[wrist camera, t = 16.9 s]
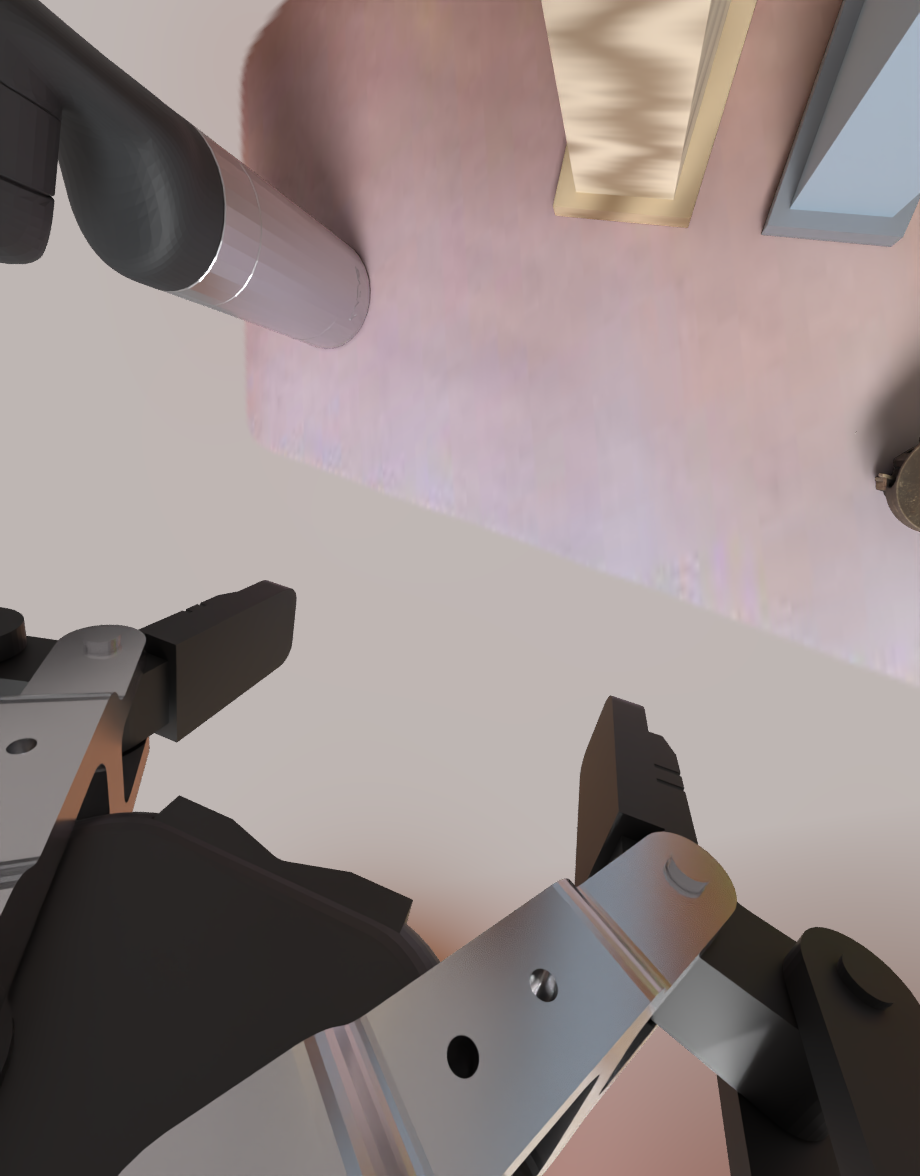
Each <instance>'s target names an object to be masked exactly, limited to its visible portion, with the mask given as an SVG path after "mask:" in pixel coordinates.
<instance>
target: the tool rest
mask: <svg viewBox="0 0 920 1176" xmlns="http://www.w3.org/2000/svg"><path fill="white" fill-rule="evenodd" d="M541 2H542V8H543V13H544V19H545V24H546V30H547V35H548V41H549V46H550V52H551V57H552V63H553V68H554V74H555V79H556V85H557V90H558V96H559V101H560V107H561V112H562V118H563V123H564V129H565V134H566V140H567V145H566V150H565V154H564V159H563V163H562V168H561V172H560V177H559V181H558V186H557V190H556V195H555V199H554V204H553V208H554V212H555V215H556V216H565V217H576V218H587V219H597V220H608V221H619V222H630V223H640V224H651V225H662V226H673V227H683V228H688V226H689V222H690V219H691V216H692V213H693V209H694V206H695V203H696V199H697V196H698V193H699V190H700V186H701V183H702V180H703V176H704V173H705V170H706V167H707V163H708V160H709V157H710V153H711V150H712V147H713V144H714V140H715V137H716V134H717V130H718V127H719V124H720V121H721V117H722V114H723V111H724V107H725V104H726V101H727V98H728V94H729V91H730V88H731V84H732V81H733V78H734V75H735V71H736V68H737V65H738V61H739V58H740V55H741V52H742V48H743V45H744V42H745V39H746V35H747V32H748V29H749V25H750V22H751V19H752V16H753V12H754V9H755V6H756V2H757V0H541Z"/></svg>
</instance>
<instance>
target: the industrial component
mask: <svg viewBox="0 0 920 1176" xmlns="http://www.w3.org/2000/svg"><path fill="white" fill-rule="evenodd" d="M855 433H856V432H855ZM893 463H894V467H895V468H894V469H893V473H892V475H891V476H890V475H887V474H883V473H879V477H875V481H876V489H877V490H880V491H883V492H884V495H885V496H886V499H887V503H888V505H889V508H890V510H891V511H892V513H893V514H894V515H895V517H896V518H897V519H898V520H899V521H901V522H902V523H903V524H904V525H906V526H908V527H909V528H911V529H913V530H916V531H919V532H920V437H919V444H918V446H917V447H914V448H911V449H909V450H907V451H906V452H904V453H903V454H901V455H900V456H898V457H897V458H895V459H894V461H893ZM880 477H881V478H880Z"/></svg>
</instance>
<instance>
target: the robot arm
mask: <svg viewBox="0 0 920 1176" xmlns="http://www.w3.org/2000/svg"><path fill="white" fill-rule="evenodd" d="M58 161H59V164H60V168H61V172H62V176H63V179H64V183H65V187H66V190H67V195H68V198H69V202H70V205H71V208H72V211H73V213H74V216H75V218H76V221H77V223H78V225H79V227H80V229H81V231H82V233H83V235H84V237H85V238H86V240H87V242H88V243H89V244H90V246H91V247H92V249H93V250H94V251H95V253H96V254H97V255H98V256H99V257H100V258H101V259H102V260H103V261H104V262H105V263H106V264H107V265H108V266H110V267H111V268H112V269H114V270H115V271H117V272H118V273H120V274H121V275H123V276H125V277H127V278H130V279H131V280H134V281H136V282H139V283H142V284H144V285H147V286H150V287H153V288H155V289H158V290H162V291H164V292H167V293H170V294H173V295H175V296H178V297H181V298H184V299H186V300H189V301H192V302H195V303H198V304H201V305H203V306H207V307H209V308H212V309H214V310H217V311H220V312H223V313H225V314H228V315H231V316H234V317H236V318H239V319H242V320H245V321H247V322H250V323H253V324H256V325H258V326H261V327H264V328H267V329H269V330H272V331H275V332H277V333H280V334H283V335H286V336H288V337H291V338H293V339H296V340H299V341H302V342H304V343H307V344H310V345H313V346H315V347H319V348H324V349H330V348H336V347H339V346H342V345H344V344H345V343H347V342H348V341H350V340H351V339H352V338H353V337H354V336H355V335H356V334H357V333H358V331H359V329H360V328H361V326H362V325H363V322H364V320H365V317H366V315H367V311H368V306H369V300H370V287H369V279H368V275H367V272H366V269H365V266H364V264H363V263H362V261H361V259H360V257H359V256H358V255H357V253H356V252H355V251H354V250H353V249H352V248H351V247H350V246H348V245H347V244H346V243H345V242H343V241H342V240H341V239H339V238H338V237H337V236H336V235H334V234H333V233H332V232H331V231H329V230H328V229H327V228H326V227H325V226H323V225H322V224H321V223H319V222H318V221H317V220H315V219H314V218H313V217H312V216H310V215H309V214H308V213H306V212H305V211H304V210H303V209H301V208H300V207H299V206H297V205H296V204H295V203H293V202H292V201H291V200H290V199H288V198H287V197H286V196H284V195H283V194H282V193H281V192H279V191H278V190H277V189H275V188H274V187H273V186H272V185H270V184H269V183H268V182H266V181H265V180H264V179H262V178H261V177H260V176H259V175H257V174H256V173H255V172H253V171H252V170H251V169H250V168H248V167H247V166H246V165H244V164H243V163H242V162H240V161H239V160H238V159H237V158H235V157H234V156H233V155H231V154H230V153H228V152H227V151H226V150H224V149H223V148H222V147H221V146H219V145H218V144H216V143H215V142H214V141H213V140H212V139H210V138H209V137H208V136H206V135H205V134H204V133H203V132H201V131H200V130H198V129H197V128H196V127H195V126H193V125H192V124H191V123H189V122H188V121H187V120H185V119H184V118H183V117H181V116H180V115H179V114H177V113H176V112H175V111H173V110H172V109H171V108H169V107H168V106H167V105H166V104H164V103H163V102H162V101H161V100H160V99H158V98H157V97H156V96H155V95H153V94H152V93H151V92H150V91H148V90H147V89H146V88H145V87H143V86H142V85H141V84H140V83H138V82H137V81H136V80H134V79H133V78H132V77H131V76H129V75H128V74H127V73H125V72H124V71H123V70H122V69H120V68H119V67H118V66H117V65H115V64H114V63H113V62H112V61H110V60H109V59H108V58H106V57H105V56H104V55H103V54H102V53H100V52H99V51H98V50H97V49H96V48H94V47H93V46H92V45H91V44H90V43H88V42H87V41H86V40H85V39H84V38H82V37H81V36H80V35H79V34H78V33H76V32H75V31H74V30H73V29H72V28H70V27H69V26H68V25H67V24H66V23H64V22H63V21H62V20H61V19H60V18H59V17H57V16H56V15H55V14H54V13H52V12H51V11H50V10H49V9H48V8H47V7H46V6H45V5H44V4H42V3H41V2H40V1H39V0H0V263H6V264H27V263H31V262H34V261H36V260H38V259H39V258H40V257H41V256H42V255H43V253H44V251H45V249H46V246H47V243H48V239H49V235H50V230H51V225H52V218H53V210H54V199H53V198H52V197H51V196H54V195H55V185H56V174H57V163H58ZM295 609H296V593H295V591H294V590H293V589H291V588H288V587H285V586H282V585H279V584H276V583H273V582H270V581H267V580H264V581H261V582H258V583H256V584H254V585H252V586H249V587H247V588H245V589H243V590H240V591H238V592H233V593H228V594H222V595H218V596H215V597H213V598H211V599H209V600H206V601H204V602H201V604H200V605H198V604H197V605H195V606H192V607H190V608H188V609H186V611H181V612H178V613H176V614H174V615H171V616H169V617H167V618H164V619H162V620H160V621H158V622H155V623H153V624H150V625H148V626H146V627H144V628H141V629H139V630H137V629H135V628H132V627H128V626H122V625H99V626H91V627H86V628H82V629H79V630H76V631H73V632H71V633H68V634H67V635H65V636H63V637H62V638H60V639H59V640H52V639H45V638H38V637H31V636H26V631H25V624H24V617H23V616H22V615H21V614H20V613H19V612H17V611H15V610H12V609H8V608H1V607H0V1176H542V1175H543V1174H544V1173H545V1171H546V1170H547V1169H548V1167H549V1166H550V1165H551V1163H552V1162H553V1161H554V1160H555V1158H556V1157H557V1156H558V1154H559V1153H560V1152H561V1151H562V1149H563V1148H564V1146H565V1145H566V1144H567V1142H568V1141H569V1139H570V1138H571V1137H572V1135H573V1134H574V1133H575V1131H576V1130H577V1128H578V1127H579V1126H580V1124H581V1123H582V1122H583V1120H584V1119H585V1118H586V1116H587V1115H588V1113H589V1112H590V1111H591V1110H592V1108H593V1107H594V1106H595V1105H596V1103H597V1102H598V1101H599V1100H600V1098H601V1097H602V1096H603V1095H604V1093H605V1092H606V1091H607V1090H608V1088H609V1087H610V1086H611V1085H612V1083H613V1082H614V1081H615V1080H616V1078H617V1077H618V1076H619V1075H620V1073H621V1072H622V1071H623V1070H624V1068H625V1067H626V1066H627V1065H628V1063H629V1062H630V1061H631V1060H632V1059H633V1057H634V1056H635V1055H636V1053H637V1052H638V1051H639V1050H640V1048H641V1047H642V1046H643V1045H644V1044H645V1042H646V1041H647V1040H648V1038H649V1037H650V1036H651V1035H652V1034H653V1032H654V1031H655V1030H656V1028H657V1027H658V1026H660V1027H661V1028H662V1029H663V1030H664V1031H666V1032H667V1033H668V1034H669V1035H670V1036H672V1037H673V1038H674V1039H675V1040H677V1041H678V1042H679V1043H680V1044H681V1045H682V1046H684V1047H685V1048H686V1049H687V1050H688V1051H690V1052H691V1053H692V1054H693V1055H694V1056H696V1057H697V1058H698V1059H699V1060H701V1061H702V1062H703V1063H704V1064H705V1065H706V1066H708V1067H709V1068H710V1069H711V1070H712V1071H714V1072H715V1073H716V1074H717V1080H718V1087H719V1094H720V1101H721V1109H722V1116H723V1122H724V1130H725V1137H726V1145H727V1152H728V1159H729V1166H730V1173H731V1176H920V1005H919V1003H918V1001H917V1000H916V998H915V997H914V996H913V994H912V993H911V991H910V990H909V989H908V988H907V986H906V985H905V984H904V983H903V982H902V980H901V979H900V978H899V977H898V976H897V975H896V974H895V973H894V972H893V971H892V970H891V969H890V968H889V967H888V966H887V965H886V964H885V963H884V962H883V961H881V960H880V959H879V958H878V957H877V956H875V955H874V954H873V953H872V952H871V951H869V950H868V949H867V948H865V947H864V946H862V945H861V944H859V943H858V942H856V941H854V940H853V939H851V938H849V937H847V936H845V935H843V934H841V933H839V932H837V931H834V930H831V929H827V928H822V927H814V928H810V929H808V930H806V931H805V932H804V933H803V935H802V936H801V937H800V938H799V940H798V941H797V942H796V941H794V940H792V939H791V938H790V937H788V936H787V935H785V934H783V933H782V932H780V931H779V930H777V929H776V928H774V927H773V926H771V925H770V924H768V923H767V922H765V921H763V920H762V919H761V918H759V917H757V916H756V915H754V914H753V913H751V912H750V911H748V910H747V909H746V908H744V907H743V906H741V905H740V904H739V903H738V902H737V897H736V892H735V888H734V886H733V884H732V881H731V880H730V878H729V876H728V874H727V873H726V872H725V870H724V869H723V868H722V866H721V865H720V864H719V863H718V862H717V861H716V860H715V859H714V858H713V857H712V856H711V855H710V854H709V853H708V852H707V851H705V850H704V849H703V848H702V847H700V846H699V845H698V842H697V838H696V834H695V830H694V826H693V822H692V818H691V815H690V810H689V806H688V802H687V798H686V794H685V792H684V791H683V790H684V785H683V781H682V777H681V776H680V769H679V765H678V761H677V757H676V754H675V753H674V752H673V750H672V749H671V748H670V746H669V745H668V743H667V742H666V741H665V739H664V738H663V737H662V736H660V735H657V734H654V733H651V732H648V726H647V720H646V715H645V709H644V707H643V706H640V705H638V704H635V703H631V702H629V701H626V700H622V699H620V698H617V697H614V696H609V697H608V699H607V700H606V702H605V705H604V707H603V710H602V712H601V715H600V717H599V719H598V722H597V724H596V727H595V730H594V732H593V734H592V737H591V739H590V742H589V744H588V747H587V749H586V752H585V755H584V759H583V762H582V767H581V773H580V787H579V807H578V827H577V848H576V870H575V885H574V884H573V883H572V882H571V881H570V880H569V879H562V880H559V881H557V882H556V883H554V884H553V885H551V886H550V887H548V888H547V889H545V890H544V891H543V892H541V893H540V894H538V895H537V896H535V897H534V898H532V899H531V900H529V901H528V902H527V903H525V904H524V905H522V906H521V907H519V908H518V909H517V910H515V911H514V912H512V913H511V914H509V915H508V916H506V917H505V918H504V919H502V920H501V921H499V922H498V923H497V924H495V925H493V926H492V927H491V928H489V929H488V930H486V931H485V932H483V933H482V934H481V935H479V936H478V937H476V938H475V939H473V940H472V941H470V942H469V943H468V944H466V945H465V946H463V947H462V948H461V949H459V950H458V951H456V952H455V953H453V954H452V955H450V956H449V957H447V958H446V959H445V960H443V961H442V962H440V961H439V959H438V958H437V956H436V955H435V954H434V952H433V951H432V950H431V948H430V947H429V946H428V945H427V944H426V943H425V942H424V940H422V938H421V937H420V936H419V935H418V934H417V933H416V932H415V931H414V930H413V929H412V928H410V927H409V926H408V925H407V920H408V916H409V913H410V909H411V905H412V902H413V900H412V899H410V898H407V897H405V896H403V895H401V894H399V893H396V892H394V891H392V890H390V889H387V888H385V887H383V886H380V885H378V884H376V883H374V882H372V881H369V880H367V879H365V878H363V877H361V876H358V875H356V874H353V873H352V872H346V871H340V870H334V869H328V868H322V867H316V866H310V865H304V864H298V863H291V862H287V861H282V860H280V859H278V858H276V857H275V856H274V855H272V854H271V853H270V852H269V851H268V850H267V849H266V848H265V847H263V846H262V845H261V844H260V843H259V842H258V841H257V840H255V839H254V838H253V837H252V836H251V835H250V834H248V832H246V831H245V830H244V829H243V828H242V827H241V826H240V825H238V824H237V823H236V822H235V821H234V820H233V819H231V818H229V817H226V816H224V815H222V814H219V813H217V812H215V811H213V810H211V809H208V808H206V807H204V806H202V805H200V804H197V803H195V802H193V801H191V800H188V799H186V798H184V797H182V796H178V797H177V798H176V799H175V800H174V801H172V802H171V803H170V804H169V805H168V806H167V807H166V808H164V809H163V810H162V811H161V812H160V813H149V812H133V808H134V804H135V801H136V797H137V794H138V790H139V786H140V783H141V779H142V776H143V772H144V768H145V765H146V761H147V757H148V754H149V749H150V746H149V736H150V735H152V734H153V733H156V734H158V735H161V736H163V737H165V738H168V739H170V740H172V741H175V742H178V741H180V740H181V739H182V738H184V737H185V736H186V735H188V734H189V733H190V732H192V731H193V730H194V729H196V728H197V727H199V726H200V725H201V724H202V723H204V722H205V721H207V720H208V719H209V718H211V717H212V716H213V715H215V714H216V713H217V712H219V711H220V710H221V709H223V708H224V707H225V706H227V705H228V704H230V703H231V702H232V701H234V700H235V699H236V698H238V697H239V696H240V695H242V694H243V693H244V692H246V691H247V690H249V689H250V688H251V687H253V686H254V685H255V684H256V683H258V682H259V681H260V680H262V679H263V678H265V677H266V676H267V675H269V674H270V673H271V672H273V671H274V670H275V669H277V668H278V667H279V666H281V665H282V664H283V663H284V661H285V660H286V658H287V656H288V655H289V652H290V650H291V646H292V640H293V629H294V620H295Z"/></svg>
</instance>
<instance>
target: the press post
mask: <svg viewBox="0 0 920 1176" xmlns="http://www.w3.org/2000/svg"><path fill="white" fill-rule="evenodd" d="M919 199H920V0H843V2H842V5H841V8H840V11H839V14H838V17H837V19H836V22H835V25H834V28H833V31H832V34H831V37H830V39H829V42H828V45H827V48H826V51H825V54H824V57H823V59H822V62H821V65H820V68H819V71H818V74H817V77H816V80H815V82H814V85H813V88H812V91H811V94H810V97H809V100H808V102H807V105H806V108H805V111H804V114H803V117H802V120H801V122H800V125H799V128H798V131H797V134H796V137H795V140H794V143H793V145H792V148H791V151H790V154H789V157H788V160H787V163H786V165H785V168H784V171H783V174H782V177H781V180H780V183H779V185H778V188H777V191H776V194H775V197H774V200H773V203H772V205H771V208H770V211H769V214H768V217H767V220H766V223H765V226H764V228H763V231H762V234H761V235H770V236H780V237H791V238H802V239H813V240H823V241H834V242H845V243H856V244H866V245H877V246H888V247H891V246H892V245H894V244H895V243H896V242H897V241H899V240H900V239H901V238H902V237H903V236H904V233H905V231H906V229H907V227H908V224H909V222H910V220H911V217H912V215H913V213H914V210H915V208H916V206H917V204H918V201H919Z"/></svg>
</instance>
